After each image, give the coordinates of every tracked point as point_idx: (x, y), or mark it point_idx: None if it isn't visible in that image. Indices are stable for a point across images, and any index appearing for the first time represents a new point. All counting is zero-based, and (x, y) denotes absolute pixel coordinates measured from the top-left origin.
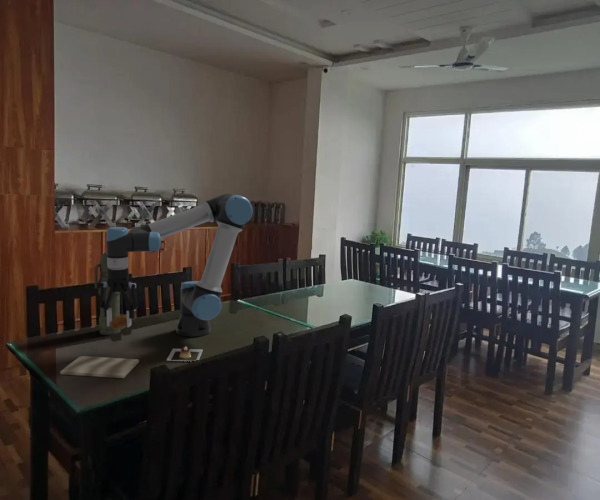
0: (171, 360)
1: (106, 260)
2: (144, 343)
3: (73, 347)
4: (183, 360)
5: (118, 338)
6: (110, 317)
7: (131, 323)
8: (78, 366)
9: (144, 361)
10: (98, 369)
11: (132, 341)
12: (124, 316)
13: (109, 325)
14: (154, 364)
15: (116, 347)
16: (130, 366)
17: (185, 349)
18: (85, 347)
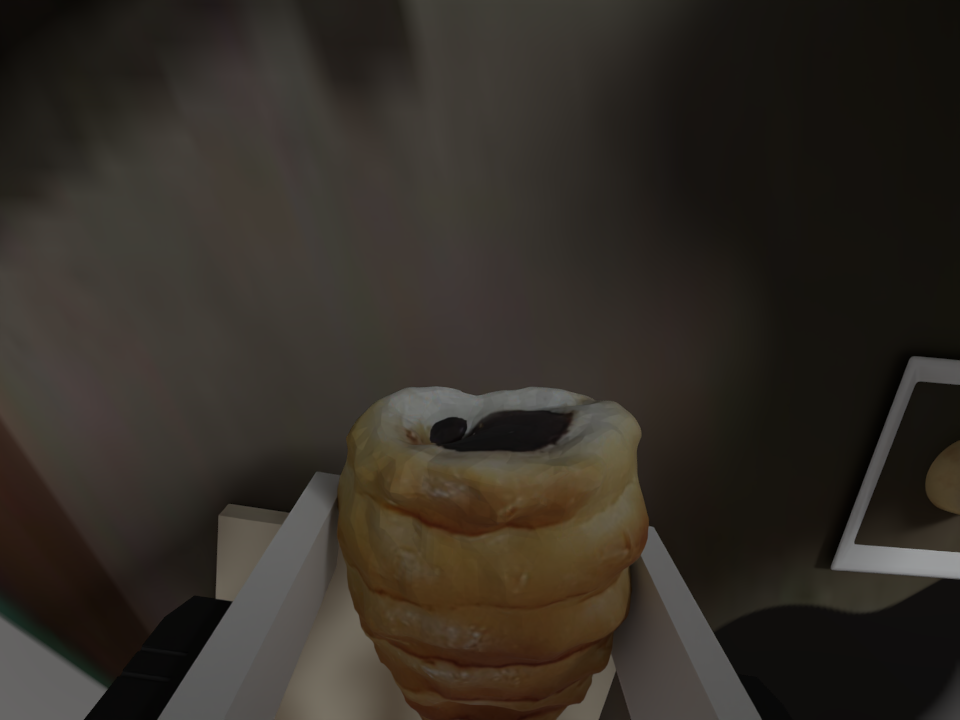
0: (864, 571)
1: None
2: (659, 184)
3: (51, 279)
4: (945, 572)
5: (375, 14)
6: (296, 621)
7: (662, 545)
8: None
9: (678, 555)
10: None
11: (538, 121)
12: (566, 583)
13: (335, 556)
14: (743, 598)
15: (423, 286)
16: (605, 672)
17: None
18: (155, 281)
